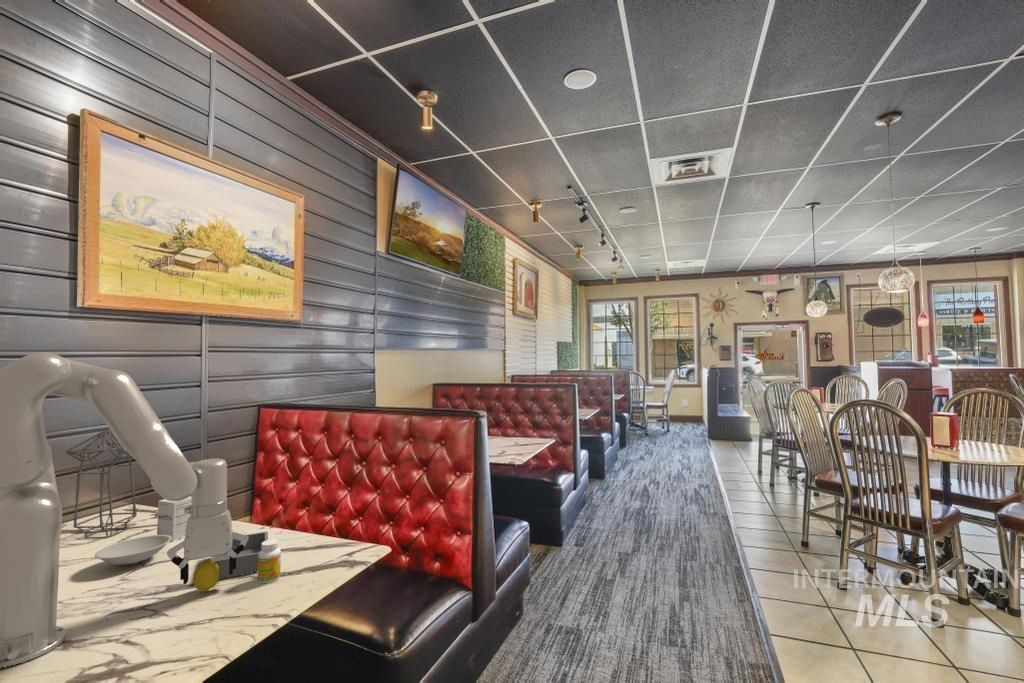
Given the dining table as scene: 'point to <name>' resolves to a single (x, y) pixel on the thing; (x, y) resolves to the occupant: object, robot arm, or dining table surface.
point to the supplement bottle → (269, 562)
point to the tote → (242, 556)
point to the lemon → (206, 575)
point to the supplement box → (173, 517)
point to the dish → (133, 549)
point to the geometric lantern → (102, 481)
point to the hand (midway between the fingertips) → (209, 576)
